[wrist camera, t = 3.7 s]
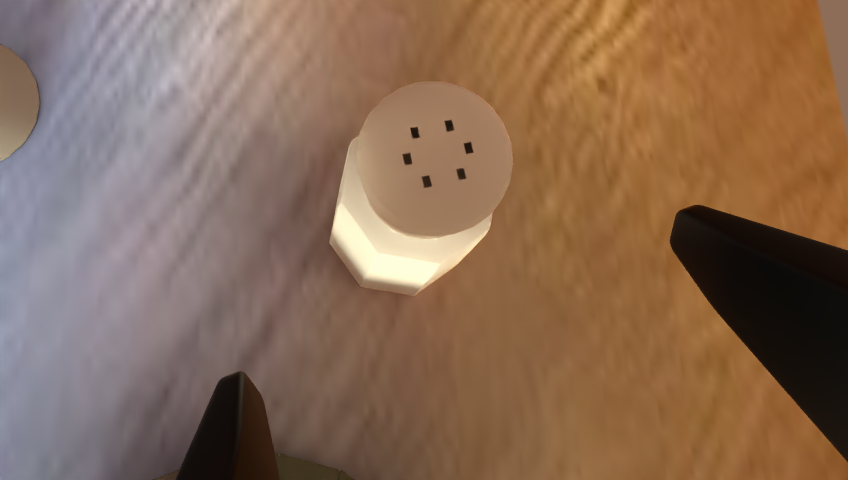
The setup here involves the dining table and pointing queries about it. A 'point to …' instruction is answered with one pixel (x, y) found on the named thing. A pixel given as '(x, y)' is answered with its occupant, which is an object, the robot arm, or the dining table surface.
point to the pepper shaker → (420, 186)
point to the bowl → (294, 470)
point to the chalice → (16, 102)
